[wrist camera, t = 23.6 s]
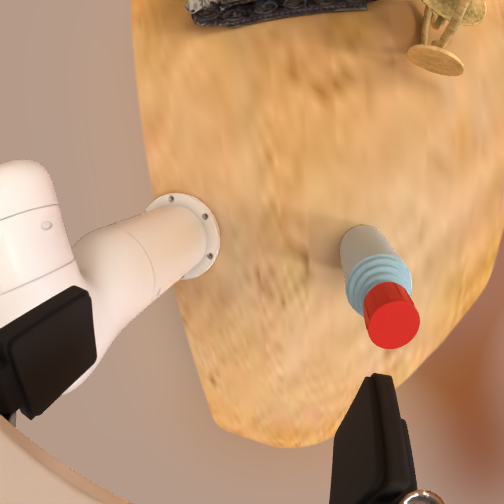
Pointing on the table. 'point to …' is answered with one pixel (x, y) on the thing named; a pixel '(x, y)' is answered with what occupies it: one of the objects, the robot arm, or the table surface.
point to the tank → (262, 10)
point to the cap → (390, 315)
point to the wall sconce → (445, 33)
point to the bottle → (369, 264)
